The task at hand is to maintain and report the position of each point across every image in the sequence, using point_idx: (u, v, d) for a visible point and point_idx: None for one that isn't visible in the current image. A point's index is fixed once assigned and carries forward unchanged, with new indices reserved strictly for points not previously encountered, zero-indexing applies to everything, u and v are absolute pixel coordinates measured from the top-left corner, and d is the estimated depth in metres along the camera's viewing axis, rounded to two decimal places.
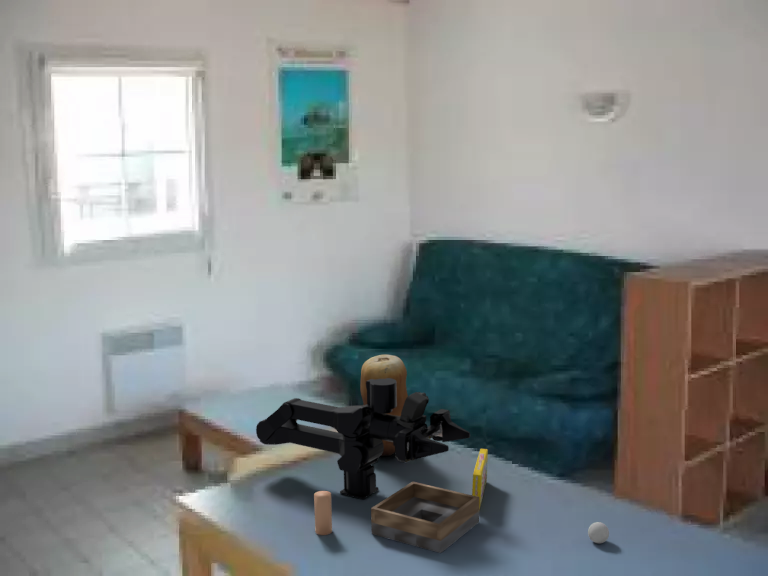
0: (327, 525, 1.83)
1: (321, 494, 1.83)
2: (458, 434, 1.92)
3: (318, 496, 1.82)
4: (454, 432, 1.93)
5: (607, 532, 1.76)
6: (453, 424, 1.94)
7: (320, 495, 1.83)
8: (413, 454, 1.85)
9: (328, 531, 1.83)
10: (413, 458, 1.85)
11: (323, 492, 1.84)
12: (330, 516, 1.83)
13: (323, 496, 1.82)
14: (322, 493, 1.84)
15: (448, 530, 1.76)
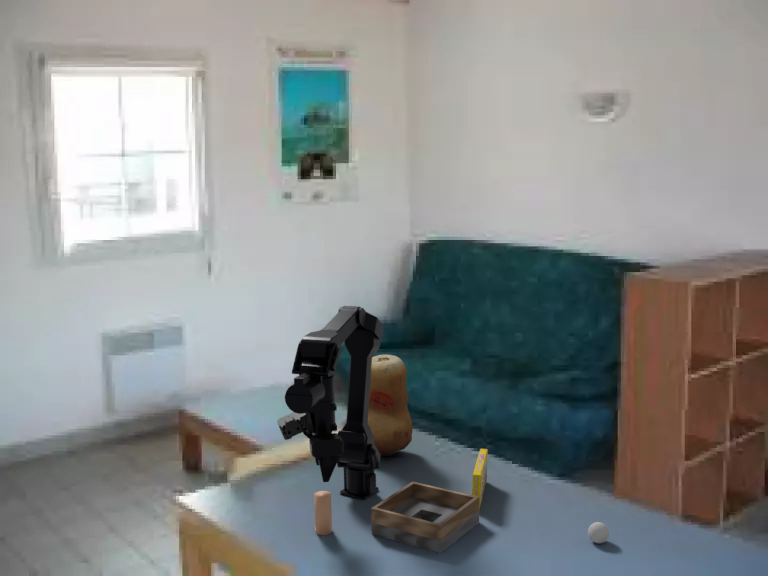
0: (327, 525, 1.83)
1: (321, 494, 1.83)
2: None
3: (318, 496, 1.82)
4: None
5: (607, 532, 1.76)
6: (319, 462, 1.76)
7: (320, 495, 1.83)
8: None
9: (328, 531, 1.83)
10: None
11: (323, 492, 1.84)
12: (330, 516, 1.83)
13: (323, 496, 1.82)
14: (322, 493, 1.84)
15: (448, 530, 1.76)
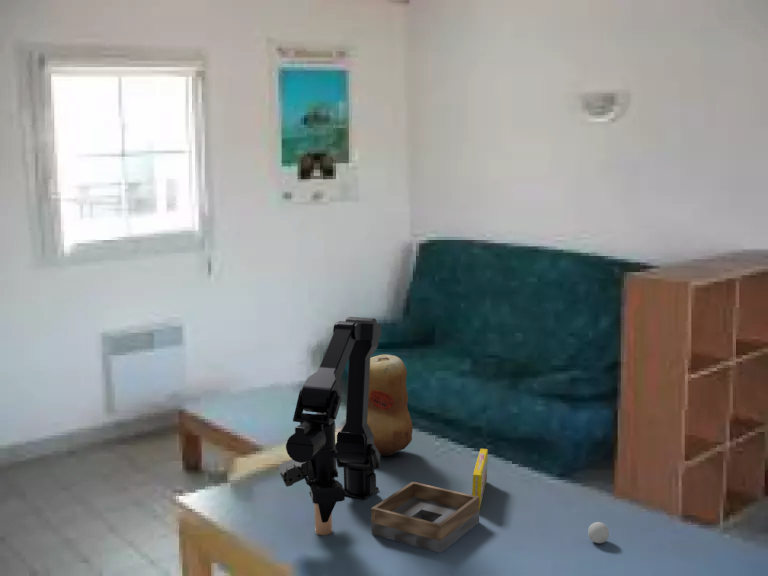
0: (327, 525, 1.83)
1: None
2: None
3: None
4: None
5: (607, 532, 1.76)
6: (318, 504, 1.81)
7: None
8: None
9: (328, 531, 1.83)
10: None
11: None
12: (330, 516, 1.83)
13: None
14: None
15: (448, 530, 1.76)
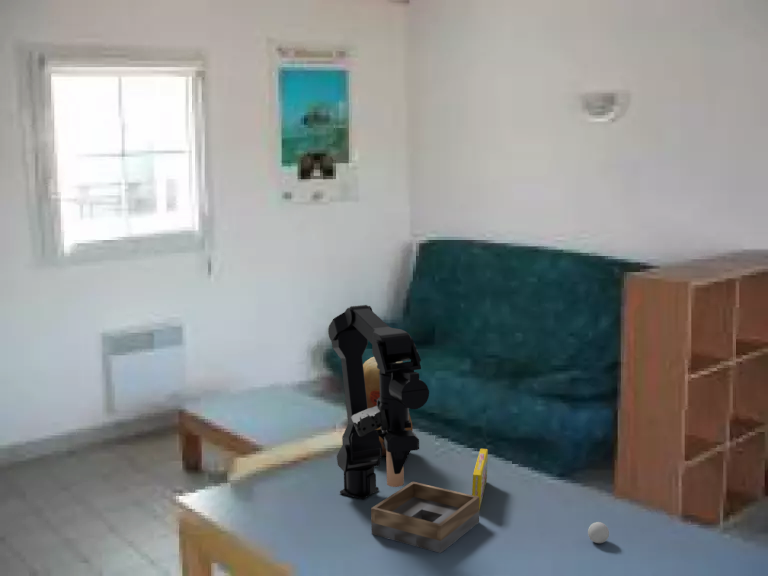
0: (399, 477, 1.81)
1: None
2: None
3: None
4: None
5: (607, 532, 1.76)
6: (391, 454, 1.79)
7: None
8: None
9: (400, 483, 1.82)
10: None
11: None
12: (402, 468, 1.82)
13: None
14: None
15: (448, 530, 1.76)
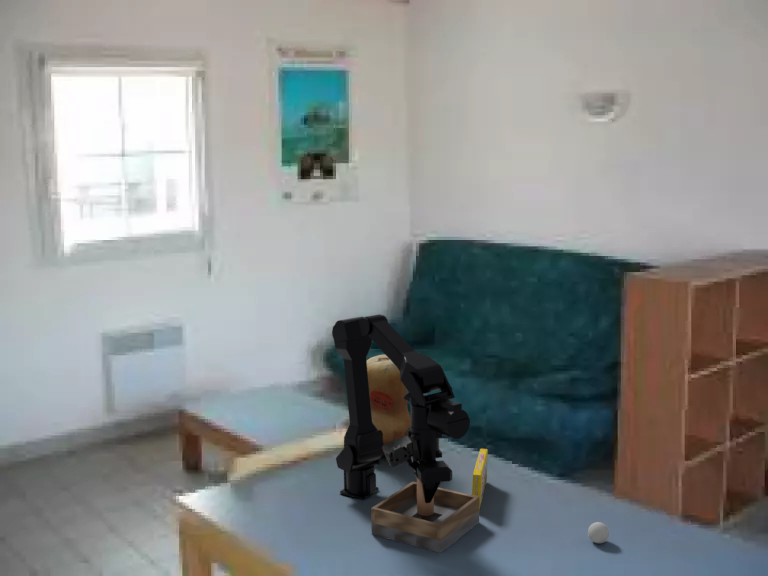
0: (429, 506, 1.83)
1: None
2: None
3: None
4: None
5: (607, 532, 1.76)
6: (422, 484, 1.81)
7: None
8: None
9: (430, 512, 1.83)
10: None
11: None
12: None
13: None
14: None
15: (448, 530, 1.76)
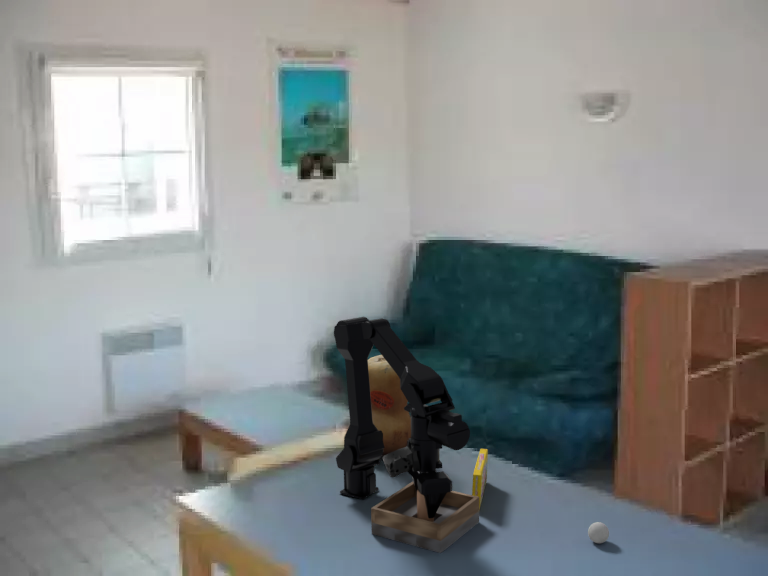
0: None
1: None
2: None
3: None
4: None
5: (607, 532, 1.76)
6: (425, 499, 1.79)
7: None
8: None
9: None
10: None
11: None
12: None
13: None
14: None
15: (448, 530, 1.76)
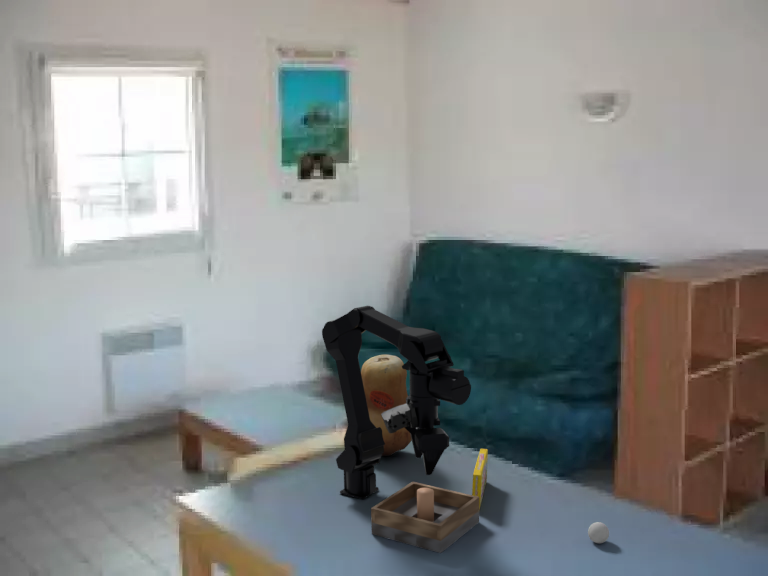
0: None
1: (423, 491, 1.84)
2: None
3: (421, 493, 1.83)
4: None
5: (607, 532, 1.76)
6: (423, 456, 1.81)
7: (423, 491, 1.84)
8: None
9: None
10: None
11: (425, 489, 1.85)
12: (433, 513, 1.84)
13: (427, 493, 1.83)
14: (425, 489, 1.85)
15: (448, 530, 1.76)
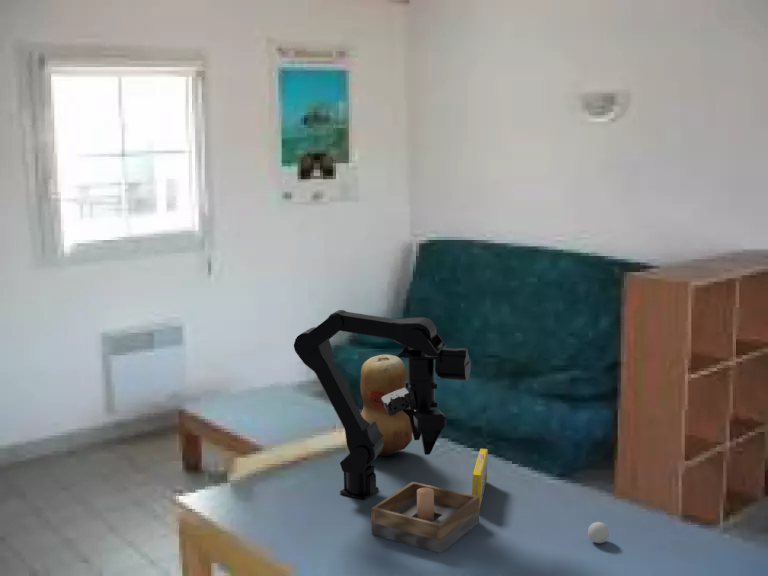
0: None
1: (423, 491, 1.84)
2: None
3: (421, 493, 1.83)
4: None
5: (607, 532, 1.76)
6: (422, 436, 1.91)
7: (423, 491, 1.84)
8: None
9: None
10: None
11: (425, 489, 1.85)
12: (433, 513, 1.84)
13: (427, 493, 1.83)
14: (425, 489, 1.85)
15: (448, 530, 1.76)
